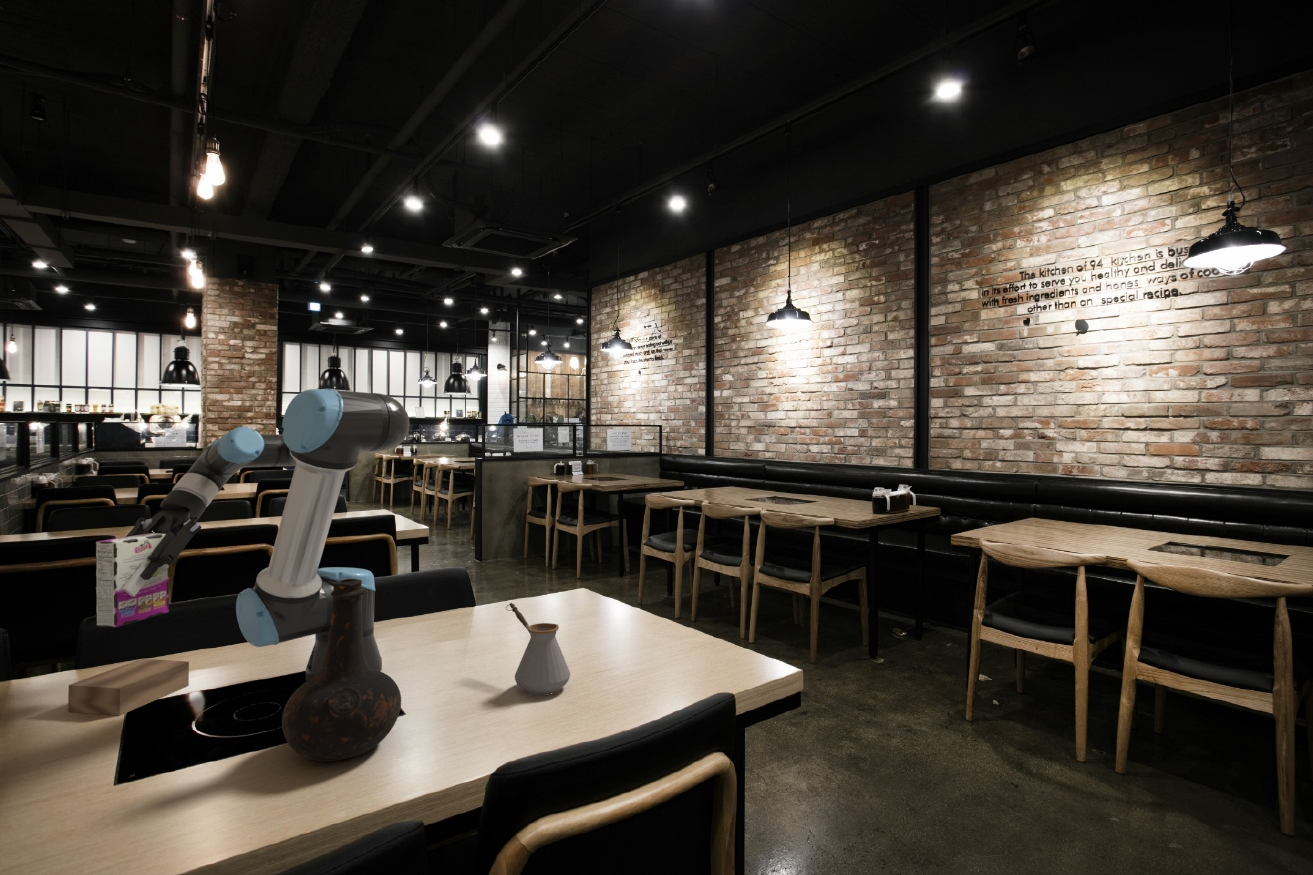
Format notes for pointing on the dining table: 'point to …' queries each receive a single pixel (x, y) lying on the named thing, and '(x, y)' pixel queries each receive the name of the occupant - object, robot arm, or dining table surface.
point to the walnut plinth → (128, 686)
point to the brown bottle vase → (342, 691)
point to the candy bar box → (115, 571)
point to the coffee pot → (541, 660)
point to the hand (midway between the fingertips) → (115, 591)
